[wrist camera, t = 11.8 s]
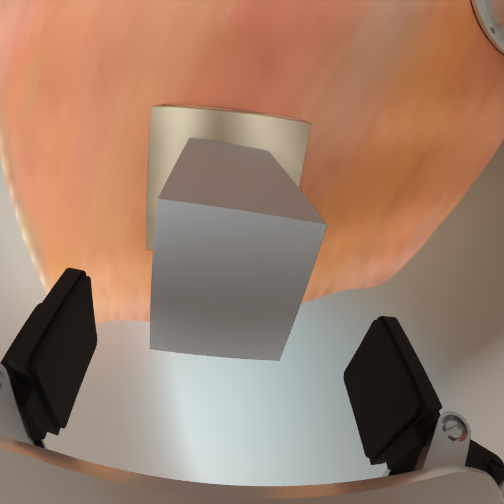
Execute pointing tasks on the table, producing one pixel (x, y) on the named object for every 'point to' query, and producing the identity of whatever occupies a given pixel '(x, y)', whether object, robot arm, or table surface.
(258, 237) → the grey block
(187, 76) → the table surface
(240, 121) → the beige metal block
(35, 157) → the table surface
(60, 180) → the table surface
